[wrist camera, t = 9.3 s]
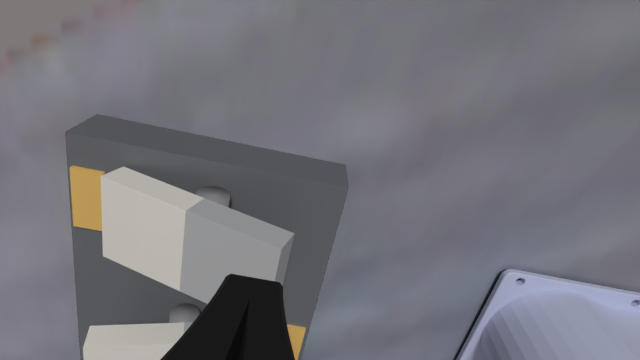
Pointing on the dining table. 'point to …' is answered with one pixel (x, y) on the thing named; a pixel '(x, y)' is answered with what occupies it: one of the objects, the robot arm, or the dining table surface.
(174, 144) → the switch unit
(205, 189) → the rocker
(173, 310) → the rocker
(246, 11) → the dining table surface
